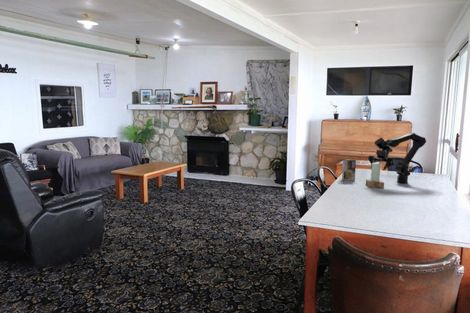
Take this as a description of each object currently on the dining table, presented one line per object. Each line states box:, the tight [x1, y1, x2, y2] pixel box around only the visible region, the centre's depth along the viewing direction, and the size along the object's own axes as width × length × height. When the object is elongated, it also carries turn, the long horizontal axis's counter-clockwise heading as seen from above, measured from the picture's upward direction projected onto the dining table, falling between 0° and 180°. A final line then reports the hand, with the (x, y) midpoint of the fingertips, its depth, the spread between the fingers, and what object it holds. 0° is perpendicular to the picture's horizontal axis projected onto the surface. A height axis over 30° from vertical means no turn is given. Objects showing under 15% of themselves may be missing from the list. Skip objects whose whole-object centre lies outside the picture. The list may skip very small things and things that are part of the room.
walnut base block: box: [365, 178, 385, 189], centre depth 269 cm, size 10×10×4 cm
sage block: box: [370, 162, 382, 182], centre depth 268 cm, size 4×4×13 cm
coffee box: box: [341, 158, 357, 181], centre depth 291 cm, size 9×6×16 cm
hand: (377, 169), depth 269 cm, fingers open, 9 cm apart
